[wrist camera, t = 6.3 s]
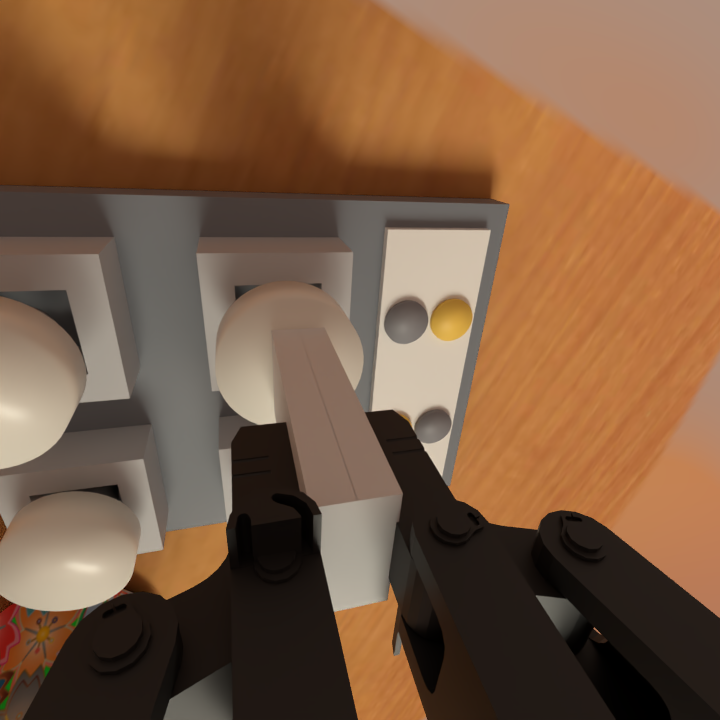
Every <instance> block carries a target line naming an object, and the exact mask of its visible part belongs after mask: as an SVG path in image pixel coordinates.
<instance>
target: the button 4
mask: <svg viewBox="0 0 720 720" xmlns="http://www.w3.org/2000/svg"><path fill="white" fill-rule="evenodd" d="M305 328H325V330H326V332H327V334H328V336H329V338H330V340H331V342H332V344H333V347H334V349H335V351H336V353H337V355H338V357H339V359H340V361H341V364H342V366H343V368H344V370H345V372H346V374H347V376H348V378H349V380H350V383H351V385H352V387H353V389H354V391H355V389H356V387H357V385H358V383H359V380H360V378H361V374H362V370H363V363H364V355H363V348H362V344H361V341H360V338H359V336H358V334H357V332H356V330H355V328H354V327H353V325H352V324H351V322H350V321H349V319H348V317H347V316H346V314H345V313H344V311H343V310H342V308H341V307H340V305H339V304H338V303H337V302H336V301H335V299H334V298H332V297H331V296H330V295H329V294H328V293H326V292H324V291H323V290H321V289H319V288H317V287H315V286H313V285H310V284H307V283H303V282H297V281H276V282H271V283H266V284H263V285H260V286H258V287H255V288H253V289H251V290H249V291H248V292H246V293H245V294H243V295H242V296H240V297H239V298H238V299H237V300H236V301H235V302H234V303H233V304H232V305H231V306H230V307H229V309H228V310H227V311H226V313H225V315H224V316H223V318H222V320H221V322H220V325H219V328H218V331H217V337H216V357H215V375H216V380H217V384H218V387H219V390H220V392H221V394H222V396H223V398H224V399H225V401H226V402H227V403H228V405H229V406H230V407H231V408H232V409H233V410H234V411H235V412H236V413H238V414H239V415H240V416H242V417H243V418H245V419H247V420H249V421H251V422H253V423H255V424H258V425H263V424H272V423H276V418H275V412H274V388H273V360H272V332H271V330H285V329H305Z"/></svg>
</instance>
